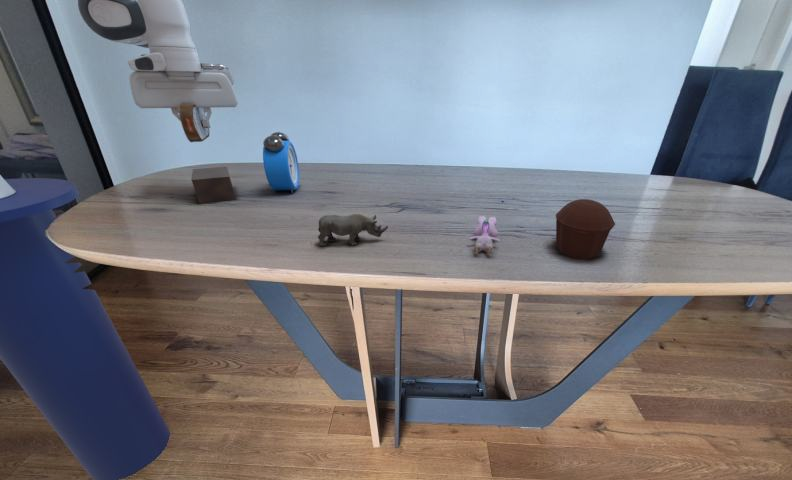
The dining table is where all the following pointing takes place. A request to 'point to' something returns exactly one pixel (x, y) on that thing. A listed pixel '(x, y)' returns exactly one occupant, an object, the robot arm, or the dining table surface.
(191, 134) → the tin
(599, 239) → the muffin
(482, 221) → the rabbit figure
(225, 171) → the walnut block
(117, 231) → the dining table surface
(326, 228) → the rhino figurine
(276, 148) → the alarm clock
